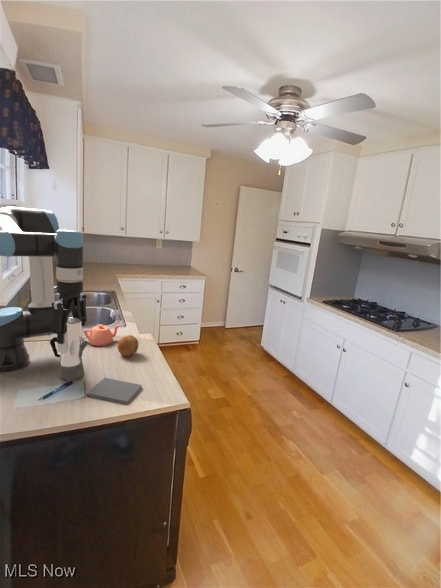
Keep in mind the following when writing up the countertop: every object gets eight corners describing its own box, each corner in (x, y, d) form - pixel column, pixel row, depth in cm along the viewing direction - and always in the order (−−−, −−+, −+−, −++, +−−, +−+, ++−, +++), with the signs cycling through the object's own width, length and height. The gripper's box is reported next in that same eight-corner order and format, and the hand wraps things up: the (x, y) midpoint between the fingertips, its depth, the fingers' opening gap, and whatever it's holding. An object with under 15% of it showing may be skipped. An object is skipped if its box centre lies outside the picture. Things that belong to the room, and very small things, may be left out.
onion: (125, 349, 153) (125, 330, 151) (142, 353, 150) (143, 334, 148) (112, 356, 144) (113, 336, 142) (130, 361, 141) (131, 340, 139)
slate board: (86, 395, 111) (86, 392, 111) (104, 380, 123) (104, 377, 122) (127, 404, 108) (127, 401, 108) (141, 387, 120) (141, 385, 120)
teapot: (82, 339, 159) (82, 322, 157) (117, 336, 169) (117, 320, 167) (85, 348, 149) (85, 330, 147) (122, 344, 159) (123, 327, 157)
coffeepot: (93, 371, 129) (93, 331, 125) (83, 382, 120) (83, 339, 116) (57, 367, 129) (56, 327, 125) (44, 378, 119) (43, 335, 116)
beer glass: (56, 361, 103) (55, 318, 99) (78, 357, 107) (78, 316, 104) (61, 369, 98) (61, 325, 94) (84, 365, 102) (84, 322, 99)
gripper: (58, 287, 86) (59, 362, 91) (98, 277, 105) (97, 339, 110) (35, 283, 87) (37, 357, 92) (79, 274, 106) (79, 336, 111)
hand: (70, 347), depth 101 cm, fingers closed on beer glass, 7 cm apart
